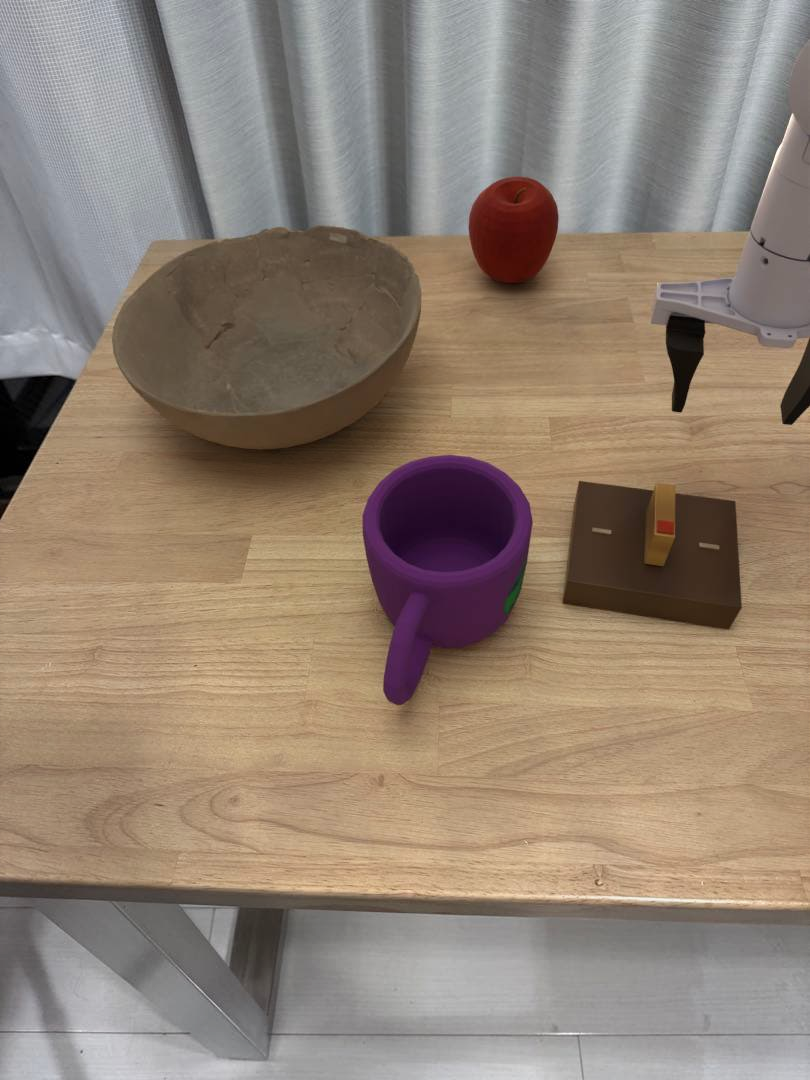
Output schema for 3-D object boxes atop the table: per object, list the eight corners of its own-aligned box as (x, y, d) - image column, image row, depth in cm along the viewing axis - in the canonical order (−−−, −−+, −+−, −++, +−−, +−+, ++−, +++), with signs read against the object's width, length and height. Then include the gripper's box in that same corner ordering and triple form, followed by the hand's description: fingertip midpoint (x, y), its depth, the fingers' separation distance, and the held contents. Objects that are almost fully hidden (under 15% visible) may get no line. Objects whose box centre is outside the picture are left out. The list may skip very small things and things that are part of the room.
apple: (460, 294, 80) (461, 206, 72) (475, 248, 86) (478, 161, 78) (546, 302, 78) (557, 213, 70) (556, 254, 84) (567, 166, 76)
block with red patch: (646, 512, 56) (656, 479, 53) (664, 515, 56) (676, 482, 53) (643, 564, 53) (655, 532, 50) (663, 567, 53) (676, 535, 50)
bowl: (453, 323, 77) (453, 234, 69) (377, 517, 61) (366, 430, 53) (218, 293, 83) (194, 208, 75) (92, 464, 67) (44, 379, 59)
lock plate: (724, 524, 59) (736, 499, 56) (729, 629, 53) (742, 606, 50) (573, 504, 61) (579, 479, 58) (562, 603, 55) (567, 579, 52)
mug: (403, 524, 60) (395, 437, 52) (537, 556, 58) (550, 470, 50) (319, 708, 51) (294, 636, 43) (476, 759, 48) (481, 691, 40)
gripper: (673, 262, 42) (627, 434, 52) (952, 284, 39) (844, 460, 50) (674, 200, 46) (631, 371, 56) (926, 217, 43) (831, 392, 54)
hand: (730, 409), depth 53 cm, fingers open, 7 cm apart
